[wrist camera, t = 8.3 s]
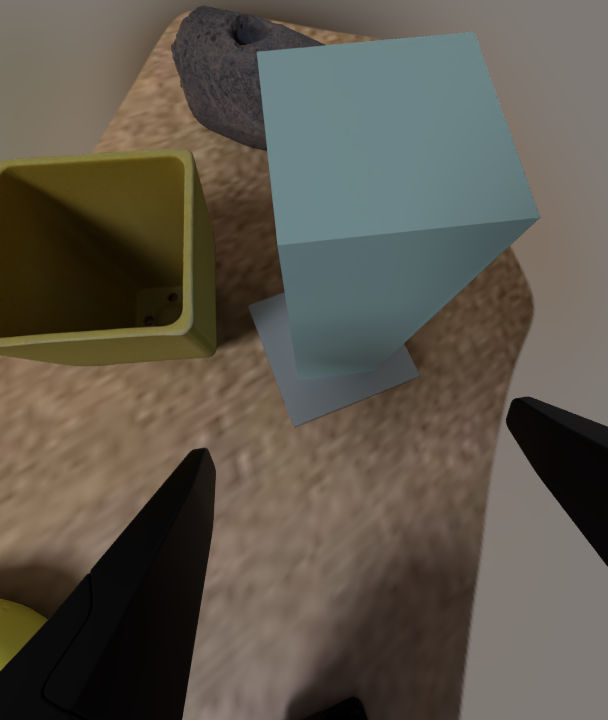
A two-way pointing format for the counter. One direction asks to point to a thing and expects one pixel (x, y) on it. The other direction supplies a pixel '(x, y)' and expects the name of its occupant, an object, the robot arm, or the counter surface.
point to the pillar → (384, 189)
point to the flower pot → (106, 259)
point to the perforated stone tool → (228, 69)
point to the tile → (325, 392)
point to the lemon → (16, 628)
